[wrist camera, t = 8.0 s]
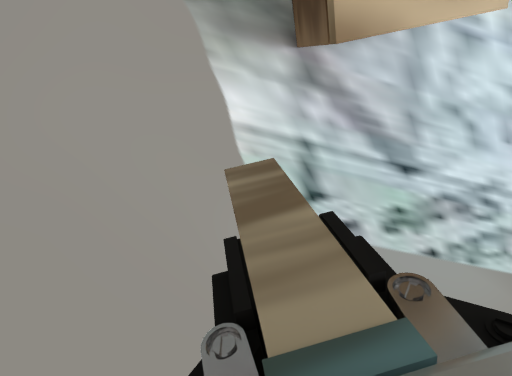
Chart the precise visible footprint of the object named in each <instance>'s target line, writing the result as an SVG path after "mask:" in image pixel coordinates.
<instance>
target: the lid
mask: <svg viewBox="0 0 512 376" xmlns="http://www.w3.org/2000/svg"><path fill="white" fill-rule="evenodd" d="M508 2H509V0H327V6H328V21H329V35H330V44H338V43H343V42H347V41H352V40H357V39H362V38H367V37H371V36H376V35H381V34H386V33H391V32H395V31H400V30H405V29H410V28H414V27H419V26H424V25H429V24H434V23H438V22H443V21H448V20H453V19H458V18H462V17H467V16H472V15H477V14H481V13H486V12H491V11H496V10H501V9H505V8H508Z"/></svg>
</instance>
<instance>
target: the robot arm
mask: <svg viewBox="0 0 512 376" xmlns="http://www.w3.org/2000/svg"><path fill="white" fill-rule="evenodd" d="M319 218H320V219H321V221H322V222H323V223H324V224H325V226H326V227H327V228H328V230H329V231H330V232H331V234H332V235H333V236H334V237H335V239H336V240H337V241H338V243H339V244H340V245H341V247H342V248H343V249H344V251H345V252H346V253H347V254H348V256H349V257H350V258H351V260H352V261H353V262H354V264H355V265H356V266H357V268H358V269H359V270H360V271H361V273H362V274H363V275H364V277H365V278H366V279H367V281H368V282H369V283H370V284H371V286H372V287H373V288H374V290H375V291H376V292H377V294H378V295H379V296H380V298H381V299H382V300H383V301H384V303H385V304H386V305H387V307H388V308H389V309H390V311H391V312H392V313H393V314H394V316H395V317H396V318H397V320H399V319H402V318H405V317H407V318H408V320H409V321H410V322H411V323H412V325H413V326H414V327H415V328H416V330H417V331H418V332H419V333H420V335H421V336H422V337H423V338H424V339H425V341H426V342H427V343H428V344H429V346H430V347H431V348H432V349H433V351H434V352H435V353H436V354H437V364H435V365H432V366H429V367H426V368H422V369H419V370H416V371H413V372H409V373H406V374H403V375H400V376H512V315H511V314H508V313H505V312H501V311H498V310H494V309H490V308H486V307H483V306H479V305H475V304H472V303H468V302H464V301H461V300H457V299H453V298H450V297H446V296H443V295H442V294H441V293H440V292H439V290H438V289H437V288H436V287H435V286H434V284H433V283H432V282H430V281H429V280H428V279H426V278H425V277H423V276H420V275H417V274H413V273H399V274H396V273H395V272H394V270H392V268H391V267H390V266H389V265H388V264H387V263H386V262H385V261H384V260H383V258H381V256H380V255H379V254H378V253H377V252H376V251H375V250H374V249H373V248H372V247H371V245H370V244H369V243H368V242H367V241H366V240H365V239H364V238H363V237H362V236H356V237H355V236H354V235H353V233H352V232H351V231H350V230H349V229H348V228H347V227H346V226H345V224H344V223H343V222H342V221H341V220H340V219H339V218H338V216H337V215H336V214H335V213H334V212H333V211H330V212H327V213H323V214H320V215H319ZM224 246H225V254H226V261H227V268H228V271H226V272H222V273H218V274H214V275H212V286H213V303H214V319H215V327H214V328H212V329H211V330H210V331H209V332H208V333H207V334H206V335H205V337H204V338H203V341H202V343H201V357H202V359H201V361H200V362H199V363H198V364H197V366H196V367H195V368H194V369H193V371H192V372H191V373H190V374H189V376H265V373H264V368H263V364H262V360H263V359H266V358H268V355H267V350H266V346H265V342H264V338H263V333H262V329H261V325H260V321H259V316H258V312H257V308H256V303H255V299H254V295H253V291H252V286H251V282H250V278H249V273H248V269H247V265H246V261H245V256H244V252H243V248H242V243H241V239H237V237H236V236H234V237H230V238H226V239H224Z"/></svg>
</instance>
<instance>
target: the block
mask: <svg viewBox="0 0 512 376" xmlns="http://www.w3.org/2000/svg"><path fill="white" fill-rule="evenodd" d="M224 171H225V175H226V179H227V183H228V187H229V192H230V196H231V201H232V205H233V209H234V214H235V218H236V222H237V226H238V230H239V235H240V239H241V243H242V248H243V252H244V256H245V261H246V265H247V269H248V273H249V278H250V282H251V286H252V291H253V295H254V299H255V303H256V308H257V312H258V316H259V321H260V325H261V329H262V333H263V338H264V342H265V346H266V350H267V355H268V358H266V359H263V360H262V364H263V368H264V373H265V376H400V375H403V374H406V373H409V372H413V371H416V370H419V369H422V368H426V367H429V366H432V365H435V364H437V354H436V353H435V352H434V351H433V349H432V348H431V347H430V346H429V344H428V343H427V342H426V341H425V339H424V338H423V337H422V336H421V335H420V333H419V332H418V331H417V330H416V328H415V327H414V326H413V325H412V323H411V322H410V321H409V320H408V318H407V317H405V318H402V319H399V320H397V318H396V317H395V316H394V314H393V313H392V312H391V311H390V309H389V308H388V307H387V305H386V304H385V303H384V301H383V300H382V299H381V298H380V296H379V295H378V294H377V292H376V291H375V290H374V288H373V287H372V286H371V284H370V283H369V282H368V281H367V279H366V278H365V277H364V275H363V274H362V273H361V271H360V270H359V269H358V268H357V266H356V265H355V264H354V262H353V261H352V260H351V258H350V257H349V256H348V254H347V253H346V252H345V251H344V249H343V248H342V247H341V245H340V244H339V243H338V241H337V240H336V239H335V237H334V236H333V235H332V234H331V232H330V231H329V230H328V228H327V227H326V226H325V224H324V223H323V222H322V221H321V219H320V218H319V217H318V215H317V214H316V213H315V211H314V210H313V209H312V207H311V206H310V205H309V204H308V202H307V201H306V200H305V198H304V197H303V196H302V194H301V193H300V192H299V191H298V189H297V188H296V187H295V185H294V184H293V183H292V181H291V180H290V179H289V177H288V176H287V175H286V174H285V172H284V171H283V170H282V168H281V167H280V166H279V164H278V163H277V162H276V161H275V159H274V158H271V159H267V160H263V161H259V162H254V163H250V164H246V165H242V166H238V167H233V168H229V169H225V170H224Z"/></svg>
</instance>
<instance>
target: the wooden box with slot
mask: <svg viewBox="0 0 512 376" xmlns="http://www.w3.org/2000/svg"><path fill="white" fill-rule="evenodd" d="M292 4H293V13H294V22H295V31H296V40H297V47H308V46H318V45H329V44H330V35H329V21H328V6H327V0H292Z"/></svg>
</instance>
